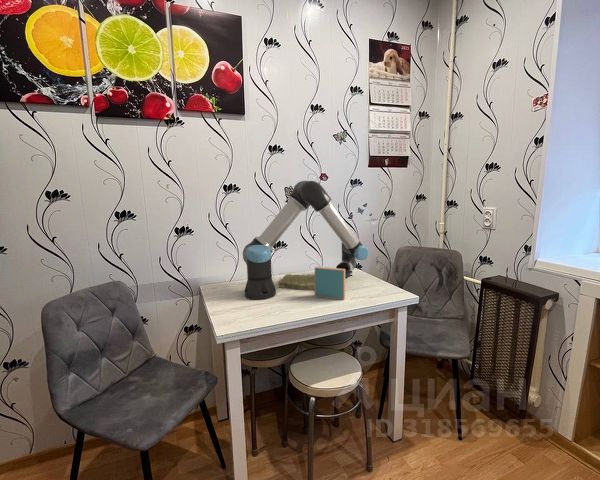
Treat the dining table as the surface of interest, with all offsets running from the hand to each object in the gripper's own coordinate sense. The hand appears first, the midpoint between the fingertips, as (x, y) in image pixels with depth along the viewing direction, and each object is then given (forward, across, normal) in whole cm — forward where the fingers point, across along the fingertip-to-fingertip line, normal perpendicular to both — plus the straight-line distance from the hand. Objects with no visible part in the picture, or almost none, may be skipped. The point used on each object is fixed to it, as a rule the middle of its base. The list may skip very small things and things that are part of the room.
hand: (331, 281), depth 153 cm
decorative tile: (-12, +21, -8) cm, 25 cm away
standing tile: (+3, 0, -7) cm, 7 cm away
